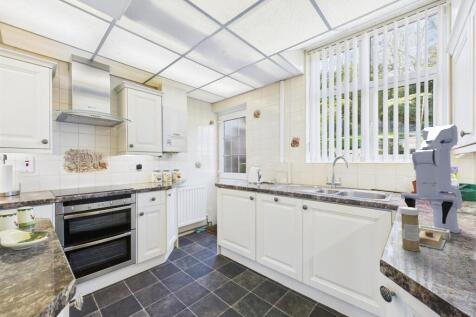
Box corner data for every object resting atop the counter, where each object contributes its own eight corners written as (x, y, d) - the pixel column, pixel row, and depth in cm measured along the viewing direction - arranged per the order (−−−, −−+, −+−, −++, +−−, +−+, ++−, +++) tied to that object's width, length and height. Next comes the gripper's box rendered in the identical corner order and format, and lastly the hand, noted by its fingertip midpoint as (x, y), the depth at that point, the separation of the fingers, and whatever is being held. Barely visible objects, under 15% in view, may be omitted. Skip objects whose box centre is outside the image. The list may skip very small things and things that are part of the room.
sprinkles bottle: (403, 245, 68) (402, 206, 69) (421, 249, 65) (419, 208, 65) (400, 248, 65) (398, 207, 66) (419, 253, 62) (417, 210, 62)
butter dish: (419, 232, 81) (419, 224, 81) (450, 237, 74) (450, 229, 74) (417, 234, 78) (416, 227, 78) (449, 241, 71) (448, 232, 71)
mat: (419, 236, 76) (419, 235, 76) (445, 241, 71) (445, 240, 71) (413, 243, 69) (413, 242, 69) (441, 249, 64) (441, 248, 64)
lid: (416, 242, 69) (416, 233, 69) (421, 236, 75) (421, 227, 75) (438, 247, 65) (438, 237, 65) (441, 240, 71) (441, 231, 71)
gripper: (398, 182, 74) (400, 219, 74) (455, 185, 63) (458, 228, 62) (403, 181, 78) (404, 215, 78) (457, 183, 67) (459, 223, 67)
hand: (428, 221), depth 70 cm, fingers open, 7 cm apart
